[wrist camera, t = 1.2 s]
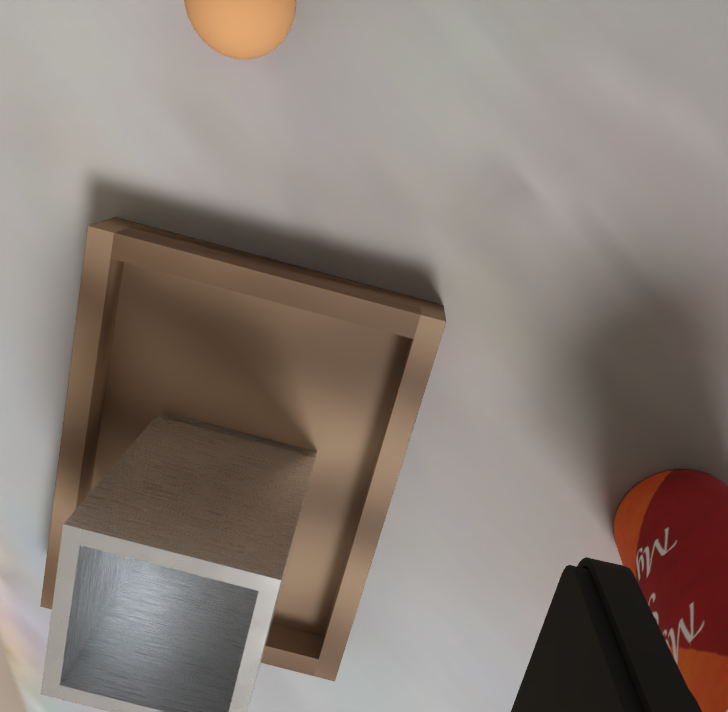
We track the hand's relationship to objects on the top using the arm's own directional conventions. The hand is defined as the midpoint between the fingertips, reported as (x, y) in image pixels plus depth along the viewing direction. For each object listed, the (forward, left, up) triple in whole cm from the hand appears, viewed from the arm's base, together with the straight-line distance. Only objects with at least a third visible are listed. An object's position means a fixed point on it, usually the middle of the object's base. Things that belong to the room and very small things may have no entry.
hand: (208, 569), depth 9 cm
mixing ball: (-8, -6, -21) cm, 23 cm away
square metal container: (+12, -3, -20) cm, 23 cm away
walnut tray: (+10, -3, -21) cm, 23 cm away
